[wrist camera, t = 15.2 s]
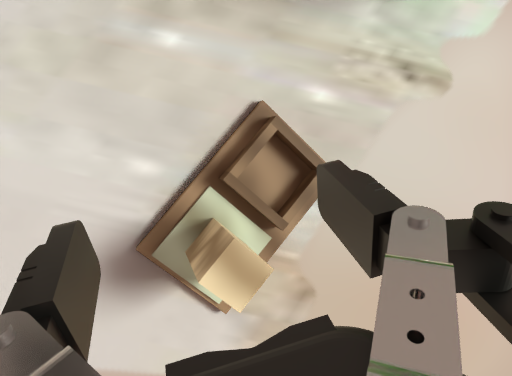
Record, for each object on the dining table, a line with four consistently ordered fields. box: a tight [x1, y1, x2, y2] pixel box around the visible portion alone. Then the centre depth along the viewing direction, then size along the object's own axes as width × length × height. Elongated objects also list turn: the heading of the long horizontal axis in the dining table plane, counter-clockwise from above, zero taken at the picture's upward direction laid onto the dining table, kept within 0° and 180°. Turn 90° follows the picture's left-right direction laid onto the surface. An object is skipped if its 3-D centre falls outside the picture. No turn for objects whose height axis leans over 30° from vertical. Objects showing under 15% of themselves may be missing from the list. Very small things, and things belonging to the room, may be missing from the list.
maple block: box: [185, 218, 274, 313], centre depth 34 cm, size 4×4×9 cm
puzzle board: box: [136, 100, 326, 314], centre depth 38 cm, size 20×12×3 cm, turn 139°
